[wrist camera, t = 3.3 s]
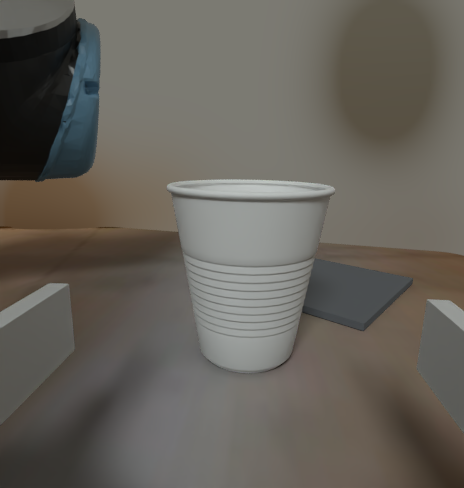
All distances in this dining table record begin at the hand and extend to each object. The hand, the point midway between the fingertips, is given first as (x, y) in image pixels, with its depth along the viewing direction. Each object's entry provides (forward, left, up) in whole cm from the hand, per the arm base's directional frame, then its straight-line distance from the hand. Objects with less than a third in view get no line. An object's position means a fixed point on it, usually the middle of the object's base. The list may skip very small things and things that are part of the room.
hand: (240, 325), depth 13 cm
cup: (-6, +8, -7) cm, 12 cm away
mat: (-9, +23, -6) cm, 25 cm away
